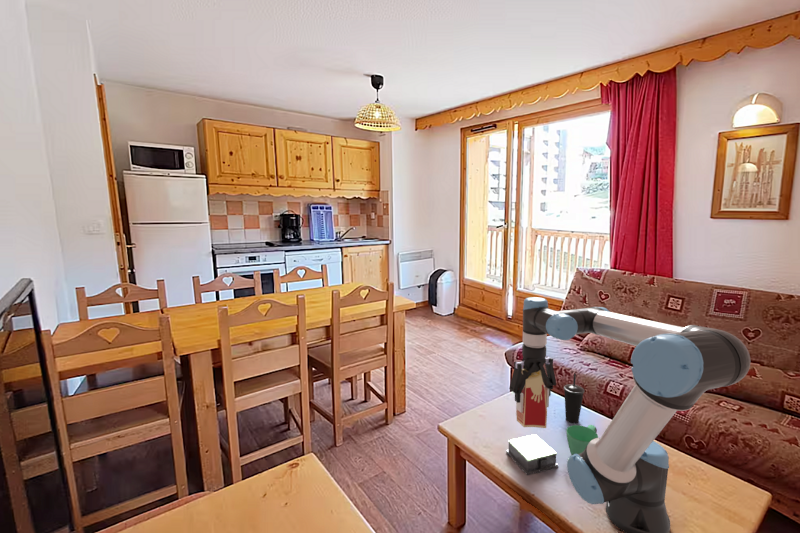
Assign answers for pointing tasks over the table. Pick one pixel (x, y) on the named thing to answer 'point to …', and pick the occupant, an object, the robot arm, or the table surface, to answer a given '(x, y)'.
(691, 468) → the table surface
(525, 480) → the table surface
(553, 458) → the stand
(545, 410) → the milk carton
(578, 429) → the mug
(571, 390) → the drinking cup
